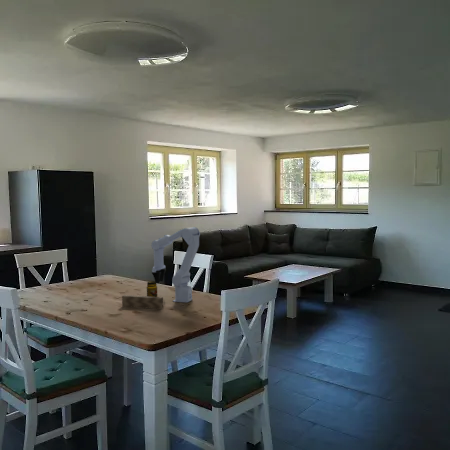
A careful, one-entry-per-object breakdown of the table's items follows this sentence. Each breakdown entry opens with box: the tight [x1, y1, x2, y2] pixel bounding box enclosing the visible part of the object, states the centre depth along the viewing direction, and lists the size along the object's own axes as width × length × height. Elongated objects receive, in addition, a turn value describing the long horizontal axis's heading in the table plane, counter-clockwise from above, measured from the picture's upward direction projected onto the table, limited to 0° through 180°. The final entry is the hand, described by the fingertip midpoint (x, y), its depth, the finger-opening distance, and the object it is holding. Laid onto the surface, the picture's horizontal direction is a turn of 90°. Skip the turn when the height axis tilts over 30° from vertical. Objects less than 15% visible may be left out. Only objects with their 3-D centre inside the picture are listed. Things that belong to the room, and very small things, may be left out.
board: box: [121, 294, 164, 310], centre depth 245 cm, size 24×2×6 cm, turn 73°
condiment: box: [146, 280, 158, 297], centre depth 256 cm, size 7×8×12 cm
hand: (159, 282), depth 267 cm, fingers open, 4 cm apart
